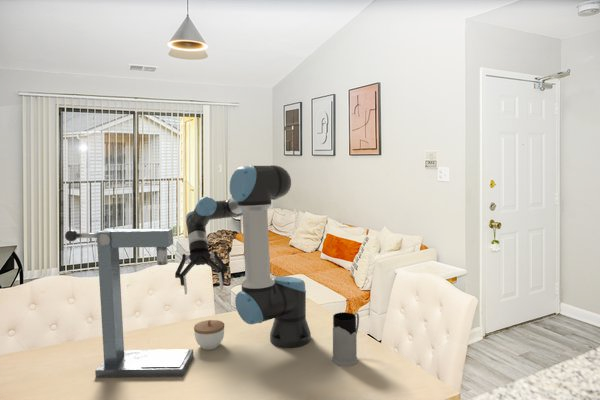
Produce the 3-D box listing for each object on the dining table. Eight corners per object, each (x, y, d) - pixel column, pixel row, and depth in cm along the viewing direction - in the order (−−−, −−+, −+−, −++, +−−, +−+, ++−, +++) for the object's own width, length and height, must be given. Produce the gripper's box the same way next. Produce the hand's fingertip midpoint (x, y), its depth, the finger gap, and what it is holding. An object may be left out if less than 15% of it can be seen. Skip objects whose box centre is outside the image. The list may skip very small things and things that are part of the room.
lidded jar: (218, 353, 150) (217, 327, 149) (189, 351, 152) (188, 325, 151) (229, 340, 160) (228, 316, 160) (202, 338, 163) (201, 314, 162)
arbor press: (193, 356, 148) (188, 225, 144) (182, 376, 134) (176, 232, 130) (84, 357, 148) (76, 226, 144) (62, 377, 134) (52, 234, 130)
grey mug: (326, 361, 143) (326, 317, 142) (347, 346, 155) (347, 305, 153) (350, 368, 138) (350, 323, 137) (369, 352, 150) (369, 310, 148)
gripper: (227, 247, 185) (235, 291, 172) (166, 251, 177) (170, 298, 164) (229, 237, 180) (237, 282, 167) (166, 241, 171) (170, 289, 159)
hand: (204, 290), depth 166 cm, fingers open, 13 cm apart
